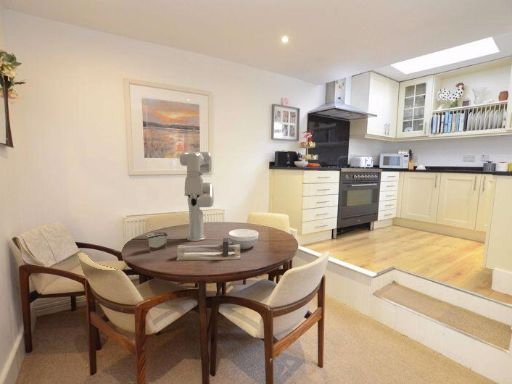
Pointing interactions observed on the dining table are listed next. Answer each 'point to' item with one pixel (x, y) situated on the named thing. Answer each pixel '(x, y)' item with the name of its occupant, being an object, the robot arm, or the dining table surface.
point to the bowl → (243, 237)
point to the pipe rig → (207, 255)
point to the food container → (157, 241)
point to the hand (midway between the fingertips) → (193, 205)
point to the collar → (225, 246)
